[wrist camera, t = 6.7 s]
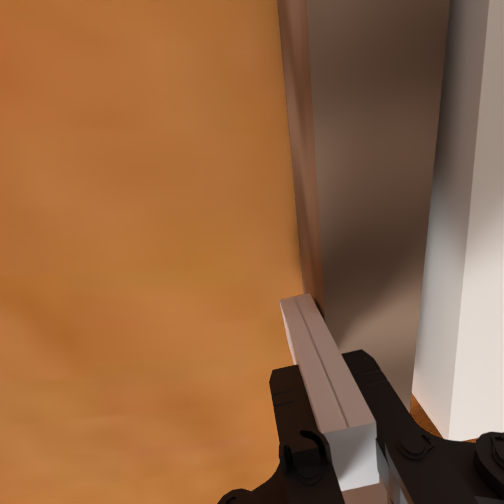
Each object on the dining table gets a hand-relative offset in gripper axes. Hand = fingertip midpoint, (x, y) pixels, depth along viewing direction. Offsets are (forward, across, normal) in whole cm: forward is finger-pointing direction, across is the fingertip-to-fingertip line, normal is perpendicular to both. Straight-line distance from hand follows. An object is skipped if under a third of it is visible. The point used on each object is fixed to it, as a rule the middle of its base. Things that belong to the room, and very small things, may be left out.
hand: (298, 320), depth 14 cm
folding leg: (+2, +3, +4) cm, 6 cm away
